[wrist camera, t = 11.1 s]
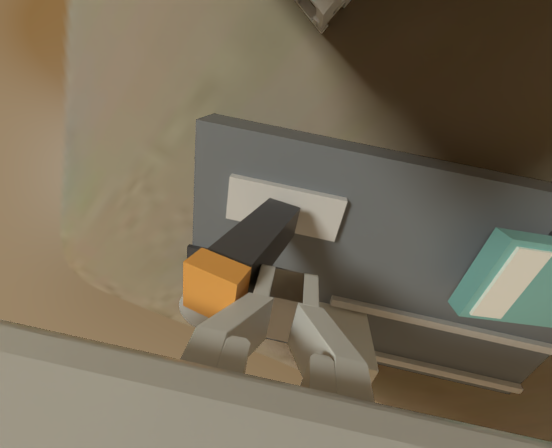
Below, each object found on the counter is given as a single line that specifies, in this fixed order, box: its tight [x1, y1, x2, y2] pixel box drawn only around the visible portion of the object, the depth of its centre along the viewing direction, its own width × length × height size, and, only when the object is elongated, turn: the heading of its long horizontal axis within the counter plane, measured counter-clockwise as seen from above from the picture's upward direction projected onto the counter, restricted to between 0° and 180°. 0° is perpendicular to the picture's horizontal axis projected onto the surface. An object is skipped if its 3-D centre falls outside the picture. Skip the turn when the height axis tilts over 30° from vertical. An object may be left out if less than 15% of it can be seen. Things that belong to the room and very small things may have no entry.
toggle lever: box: [183, 198, 301, 318], centre depth 11 cm, size 2×2×6 cm
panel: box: [187, 114, 552, 394], centre depth 17 cm, size 14×23×3 cm, turn 80°
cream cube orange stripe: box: [319, 302, 379, 384], centre depth 16 cm, size 3×3×4 cm
